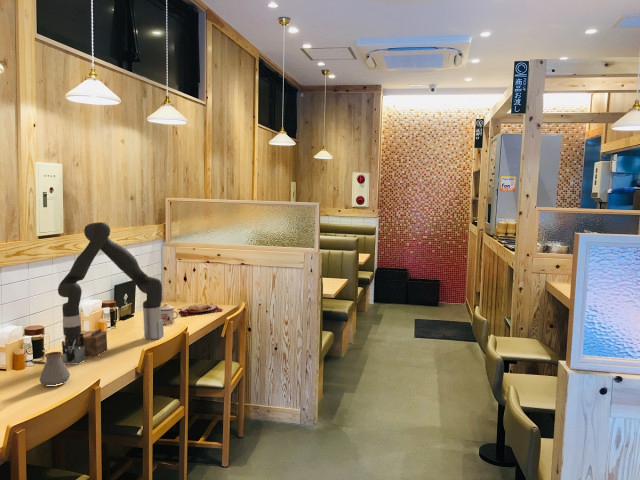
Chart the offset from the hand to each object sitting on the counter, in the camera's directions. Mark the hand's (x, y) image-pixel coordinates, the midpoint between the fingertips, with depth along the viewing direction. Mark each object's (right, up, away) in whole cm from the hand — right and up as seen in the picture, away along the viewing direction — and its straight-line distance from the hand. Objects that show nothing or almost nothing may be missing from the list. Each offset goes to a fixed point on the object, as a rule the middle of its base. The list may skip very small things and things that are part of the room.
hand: (74, 358), depth 240 cm
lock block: (0, -2, 0) cm, 2 cm away
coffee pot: (+5, -5, -31) cm, 32 cm away
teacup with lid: (+24, +6, +69) cm, 74 cm away
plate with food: (+35, +8, +99) cm, 106 cm away
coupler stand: (0, 0, +13) cm, 13 cm away
